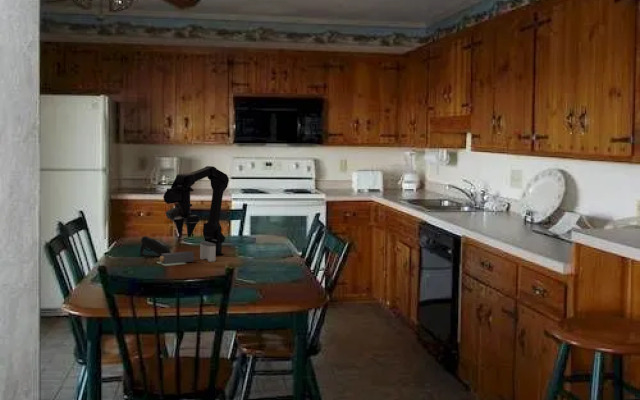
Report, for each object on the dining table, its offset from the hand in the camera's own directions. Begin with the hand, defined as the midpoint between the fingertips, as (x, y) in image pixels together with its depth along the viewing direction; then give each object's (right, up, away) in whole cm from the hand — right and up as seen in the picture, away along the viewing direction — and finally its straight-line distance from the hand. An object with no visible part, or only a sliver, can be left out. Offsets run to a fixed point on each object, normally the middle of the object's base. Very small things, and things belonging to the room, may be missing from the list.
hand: (184, 235), depth 323 cm
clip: (+10, -12, +3) cm, 16 cm away
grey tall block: (-2, -12, -6) cm, 13 cm away
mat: (-4, -12, -8) cm, 15 cm away
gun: (-15, -11, +8) cm, 20 cm away
